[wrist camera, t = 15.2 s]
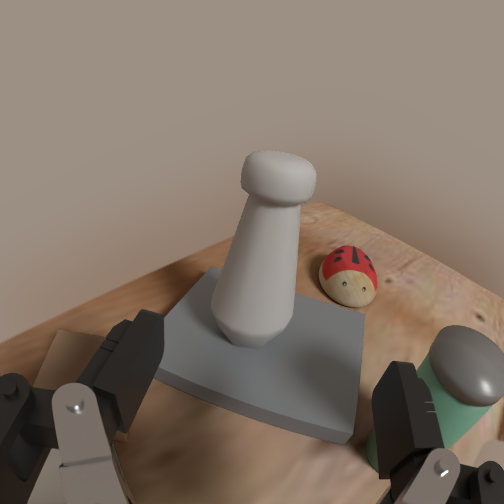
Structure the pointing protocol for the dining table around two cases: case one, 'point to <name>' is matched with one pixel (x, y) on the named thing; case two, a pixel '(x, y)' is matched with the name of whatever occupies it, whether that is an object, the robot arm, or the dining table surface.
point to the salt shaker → (263, 250)
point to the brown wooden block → (69, 362)
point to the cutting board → (270, 364)
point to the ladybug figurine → (348, 277)
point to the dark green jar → (457, 382)
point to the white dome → (49, 482)
